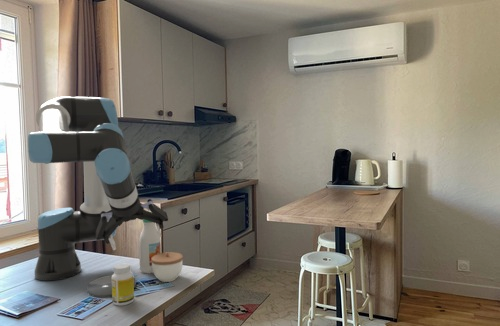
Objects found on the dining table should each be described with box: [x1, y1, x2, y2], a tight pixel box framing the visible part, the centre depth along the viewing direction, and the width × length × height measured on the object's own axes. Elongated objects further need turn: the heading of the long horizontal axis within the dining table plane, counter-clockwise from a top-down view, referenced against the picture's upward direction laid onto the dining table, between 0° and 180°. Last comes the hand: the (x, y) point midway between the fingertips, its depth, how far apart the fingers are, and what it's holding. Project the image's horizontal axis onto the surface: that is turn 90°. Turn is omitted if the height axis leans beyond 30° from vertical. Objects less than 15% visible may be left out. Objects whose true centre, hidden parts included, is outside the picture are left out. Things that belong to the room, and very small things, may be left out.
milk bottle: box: [138, 219, 162, 274], centre depth 139 cm, size 8×8×20 cm
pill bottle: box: [111, 262, 135, 306], centre depth 112 cm, size 6×6×11 cm
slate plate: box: [86, 274, 137, 298], centre depth 123 cm, size 15×15×2 cm
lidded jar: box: [151, 251, 184, 283], centre depth 130 cm, size 11×11×9 cm
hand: (137, 239), depth 114 cm, fingers open, 13 cm apart
